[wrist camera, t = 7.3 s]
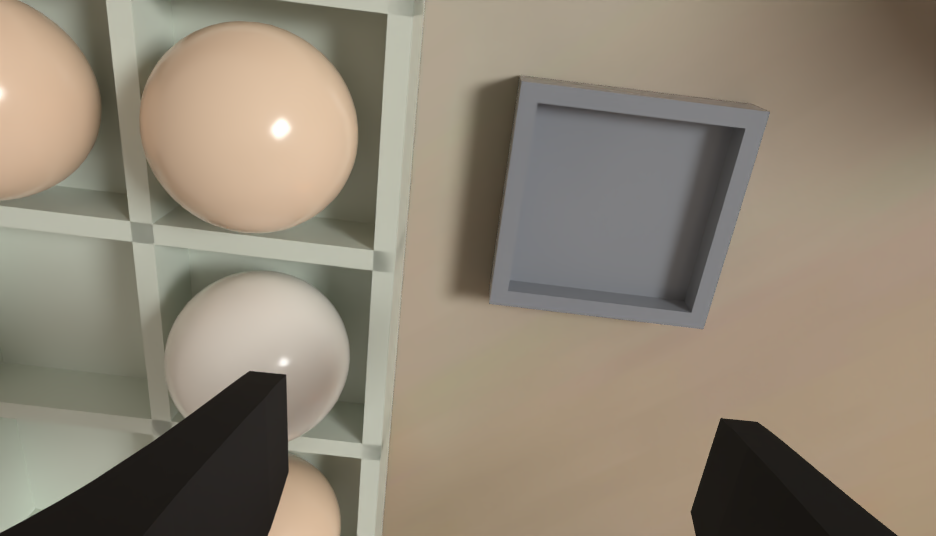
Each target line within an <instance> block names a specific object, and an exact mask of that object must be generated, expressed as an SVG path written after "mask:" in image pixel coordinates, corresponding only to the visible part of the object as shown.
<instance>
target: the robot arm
mask: <svg viewBox="0 0 936 536" xmlns="http://www.w3.org/2000/svg"><path fill="white" fill-rule="evenodd" d="M288 473H289V462H288V422H287V382H286V374H276V373H266V372H256V371H249V372H247V373H246V374H244V375H243V376H241V377H240V378H239V379H237V380H236V381H235V382H233V383H232V384H231V385H229V386H228V387H227V388H225V389H224V390H223V391H221V392H220V393H219V394H217V395H216V396H214V397H213V398H212V399H210V400H209V401H208V402H206V403H205V404H204V405H202V406H201V407H200V408H198V409H197V410H196V411H194V412H193V413H192V414H190V415H189V416H187V417H186V418H185V419H183V420H182V421H181V422H179V423H178V424H176V425H175V426H174V427H172V428H171V429H169V430H168V431H167V432H165V433H164V434H162V435H161V436H160V437H158V438H157V439H155V440H154V441H153V442H151V443H150V444H148V445H147V446H145V447H143V448H142V449H140V450H139V451H137V452H136V453H134V454H133V455H131V456H130V457H128V458H127V459H125V460H124V461H122V462H121V463H119V464H117V465H116V466H114V467H113V468H111V469H110V470H108V471H107V472H105V473H104V474H102V475H101V476H99V477H98V478H96V479H95V480H93V481H91V482H90V483H88V484H86V485H85V486H83V487H81V488H80V489H78V490H77V491H75V492H73V493H71V494H70V495H68V496H66V497H65V498H63V499H61V500H59V501H58V502H56V503H54V504H52V505H51V506H49V507H47V508H45V509H43V510H42V511H40V512H38V513H36V514H34V515H32V516H31V517H29V518H27V519H25V520H23V521H22V522H20V523H18V524H16V525H14V526H12V527H10V528H9V529H7V530H5V531H3V532H1V533H0V536H268V534H269V532H270V529H271V526H272V523H273V520H274V517H275V514H276V511H277V508H278V505H279V502H280V499H281V495H282V492H283V489H284V486H285V482H286V479H287V476H288ZM691 515H692V520H693V524H694V529H695V534H696V536H897V535H896V534H895V533H894V532H892V531H891V530H890V529H888V528H887V527H886V526H885V525H883V524H882V523H881V522H880V521H878V520H877V519H876V518H875V517H873V516H872V515H871V514H870V513H868V512H867V511H866V510H865V509H864V508H862V507H861V506H860V505H859V504H857V503H856V502H855V501H854V500H853V499H851V498H850V497H849V496H848V495H846V494H845V493H844V492H843V491H842V490H840V489H839V488H838V487H837V486H836V485H834V484H833V483H832V482H831V481H830V480H828V479H827V478H826V477H825V476H824V475H823V474H821V473H820V472H819V471H818V470H817V469H815V468H814V467H813V466H812V465H811V464H809V463H808V462H807V461H806V460H805V459H803V458H802V457H801V456H800V455H799V454H797V453H796V452H795V451H794V450H793V449H791V448H790V447H789V446H788V445H787V444H785V443H784V442H783V441H782V440H780V439H779V438H778V437H777V436H775V435H774V434H773V433H772V432H770V431H769V430H768V429H766V428H765V427H764V426H762V425H761V424H759V423H758V422H753V421H743V420H733V419H723V418H721V419H720V422H719V425H718V428H717V431H716V434H715V437H714V441H713V444H712V447H711V450H710V453H709V456H708V459H707V463H706V466H705V469H704V472H703V475H702V478H701V481H700V484H699V488H698V491H697V494H696V497H695V500H694V503H693V506H692V510H691Z"/></svg>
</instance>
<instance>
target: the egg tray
mask: <svg viewBox="0 0 936 536" xmlns="http://www.w3.org/2000/svg"><path fill="white" fill-rule="evenodd" d="M19 1H21V2H23V3H25V4H27V5H29V6H31V7H33V8H34V9H36V10H38V11H39V12H41V13H43V14H44V15H45V16H47V17H48V18H49V19H51V20H52V21H53V22H55V23H56V24H57V25H58V26H59V27H60V28H61V29H63V30H64V31H65V32H66V33H67V34H68V35H69V36H70V37H71V38H72V40H73V41H74V42H75V43H76V44H77V45H78V47H79V48H80V50H81V51H82V52H83V54H84V55H85V57H86V59H87V60H88V62H89V64H90V66H91V68H92V70H93V72H94V75H95V77H96V80H97V83H98V87H99V90H100V96H101V105H102V115H101V124H100V129H99V133H98V137H97V139H96V142H95V144H94V146H93V148H92V150H91V151H90V153H89V155H88V156H87V158H86V160H85V161H84V162H83V163H82V164H81V165H80V167H79V168H78V169H77V170H76V171H75V172H74V173H72V174H71V175H70V176H69V177H67V178H66V179H65V180H63V181H62V182H60V183H58V184H56V185H55V186H53V187H51V188H50V189H48V190H45V191H42V192H40V193H37V194H34V195H31V196H28V197H23V198H19V199H12V200H4V201H0V533H1V532H3V531H5V530H7V529H9V528H10V527H12V526H14V525H16V524H18V523H20V522H22V521H23V520H25V519H27V518H29V517H31V516H32V515H34V514H36V513H38V512H40V511H42V510H43V509H45V508H47V507H49V506H51V505H52V504H54V503H56V502H58V501H59V500H61V499H63V498H65V497H66V496H68V495H70V494H71V493H73V492H75V491H77V490H78V489H80V488H81V487H83V486H85V485H86V484H88V483H90V482H91V481H93V480H95V479H96V478H98V477H99V476H101V475H102V474H104V473H105V472H107V471H108V470H110V469H111V468H113V467H114V466H116V465H117V464H119V463H121V462H122V461H124V460H125V459H127V458H128V457H130V456H131V455H133V454H134V453H136V452H137V451H139V450H140V449H142V448H143V447H145V446H147V445H148V444H150V443H151V442H153V441H154V440H155V439H157V438H158V437H160V436H161V435H162V434H164V433H165V432H167V431H168V430H169V429H171V428H172V427H174V426H175V425H176V424H178V423H179V422H181V421H182V420H183V419H185V418H184V417H183V416H182V414H181V413H180V412H179V410H178V409H177V407H176V406H175V404H174V402H173V400H172V398H171V396H170V393H169V390H168V387H167V384H166V379H165V373H164V354H165V348H166V343H167V339H168V336H169V333H170V330H171V328H172V326H173V324H174V322H175V320H176V318H177V316H178V315H179V314H180V312H181V311H182V310H183V308H184V307H185V306H186V304H187V303H188V302H189V301H190V300H191V299H192V298H193V297H194V296H195V295H196V294H197V293H199V292H200V291H201V290H203V289H204V288H205V287H207V286H208V285H210V284H212V283H214V282H216V281H218V280H220V279H222V278H224V277H226V276H229V275H232V274H236V273H241V272H246V271H254V270H267V271H276V272H281V273H286V274H289V275H292V276H295V277H297V278H300V279H302V280H304V281H306V282H307V283H309V284H311V285H312V286H314V287H315V288H316V289H318V290H319V291H320V292H321V293H322V294H323V295H325V296H326V297H327V299H328V300H329V301H330V302H331V303H332V305H333V306H334V307H335V309H336V310H337V312H338V313H339V315H340V317H341V319H342V321H343V323H344V326H345V329H346V332H347V336H348V341H349V351H350V362H349V370H348V375H347V379H346V382H345V385H344V388H343V390H342V392H341V394H340V396H339V398H338V400H337V402H336V403H335V405H334V406H333V408H332V409H331V410H330V412H329V413H328V414H327V415H326V416H325V417H324V418H323V420H322V421H320V422H319V423H318V424H317V425H316V426H315V427H313V428H312V429H311V430H309V431H308V432H306V433H305V434H303V435H301V436H299V437H298V438H296V439H294V440H291V441H289V442H288V453H289V454H293V455H295V456H298V457H300V458H302V459H304V460H306V461H307V462H309V463H311V464H312V465H313V466H315V467H316V468H317V469H318V470H319V471H320V472H321V473H322V474H323V475H324V476H325V478H326V479H327V480H328V482H329V483H330V485H331V487H332V488H333V490H334V493H335V495H336V498H337V501H338V504H339V509H340V516H341V532H340V536H382V528H383V515H384V503H385V491H386V478H387V466H388V454H389V441H390V429H391V417H392V404H393V392H394V380H395V367H396V355H397V343H398V330H399V318H400V306H401V293H402V281H403V269H404V256H405V244H406V232H407V219H408V207H409V195H410V182H411V170H412V158H413V145H414V133H415V121H416V108H417V96H418V84H419V71H420V59H421V47H422V34H423V22H424V10H425V0H19ZM231 21H248V22H260V23H265V24H270V25H273V26H276V27H279V28H282V29H285V30H287V31H289V32H291V33H293V34H295V35H297V36H299V37H301V38H302V39H304V40H305V41H307V42H308V43H310V44H312V45H313V46H314V47H315V48H316V49H318V50H319V51H320V52H321V53H322V54H323V55H324V56H325V57H326V58H327V59H328V60H329V61H330V62H331V63H332V64H333V66H334V67H335V68H336V70H337V71H338V72H339V74H340V75H341V77H342V79H343V80H344V82H345V84H346V86H347V88H348V90H349V92H350V95H351V97H352V100H353V103H354V107H355V110H356V115H357V122H358V147H357V154H356V158H355V162H354V166H353V168H352V170H351V173H350V175H349V178H348V180H347V181H346V183H345V185H344V187H343V188H342V190H341V191H340V193H339V194H338V195H337V196H336V198H335V199H334V200H333V201H332V202H331V203H330V204H329V205H328V206H327V207H326V208H325V209H323V210H322V211H321V212H320V213H318V214H317V215H316V216H314V217H313V218H311V219H309V220H307V221H305V222H303V223H301V224H299V225H297V226H294V227H291V228H288V229H286V230H281V231H276V232H269V233H242V232H237V231H231V230H228V229H224V228H221V227H218V226H215V225H212V224H210V223H208V222H205V221H203V220H201V219H200V218H198V217H196V216H194V215H193V214H191V213H190V212H188V211H187V210H186V209H184V208H183V207H182V206H181V205H179V204H178V203H177V202H176V201H175V200H174V199H173V198H172V197H171V196H170V195H169V194H168V193H167V192H166V190H165V189H164V188H163V187H162V185H161V184H160V182H159V181H158V180H157V178H156V177H155V175H154V173H153V171H152V169H151V168H150V165H149V163H148V161H147V158H146V156H145V153H144V149H143V146H142V142H141V136H140V127H139V113H140V104H141V98H142V94H143V90H144V87H145V85H146V83H147V80H148V78H149V76H150V74H151V72H152V70H153V69H154V67H155V66H156V64H157V62H158V61H159V60H160V58H161V57H162V56H163V55H164V54H165V53H166V51H168V50H169V49H170V48H171V47H172V46H173V45H175V44H176V43H177V42H178V41H179V40H181V39H182V38H184V37H186V36H187V35H189V34H190V33H192V32H194V31H197V30H199V29H202V28H204V27H207V26H210V25H214V24H218V23H222V22H231Z"/></svg>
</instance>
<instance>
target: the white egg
mask: <svg viewBox="0 0 936 536" xmlns="http://www.w3.org/2000/svg"><path fill="white" fill-rule="evenodd" d="M349 362H350V351H349V341H348V336H347V332H346V329H345V326H344V323H343V321H342V319H341V317H340V315H339V313H338V312H337V310H336V309H335V307H334V306H333V305H332V303H331V302H330V301H329V300H328V299H327V297H326V296H325V295H323V294H322V293H321V292H320V291H319V290H318V289H316V288H315V287H314V286H312V285H311V284H309V283H307V282H306V281H304V280H302V279H300V278H297V277H295V276H292V275H289V274H286V273H281V272H276V271H267V270H254V271H246V272H241V273H236V274H232V275H229V276H226V277H224V278H222V279H220V280H218V281H216V282H214V283H212V284H210V285H208V286H207V287H205V288H204V289H203V290H201V291H200V292H199V293H197V294H196V295H195V296H194V297H193V298H192V299H191V300H190V301H189V302H188V303H187V304H186V306H185V307H184V308H183V310H182V311H181V312H180V314H179V315H178V316H177V318H176V320H175V322H174V324H173V326H172V328H171V330H170V333H169V336H168V339H167V343H166V348H165V354H164V373H165V379H166V384H167V387H168V390H169V393H170V396H171V398H172V400H173V402H174V404H175V406H176V407H177V409H178V410H179V412H180V413H181V414H182V416H183V417H184V418H186V417H187V416H189V415H190V414H192V413H193V412H194V411H196V410H197V409H198V408H200V407H201V406H202V405H204V404H205V403H206V402H208V401H209V400H210V399H212V398H213V397H214V396H216V395H217V394H219V393H220V392H221V391H223V390H224V389H225V388H227V387H228V386H229V385H231V384H232V383H233V382H235V381H236V380H237V379H239V378H240V377H241V376H243V375H244V374H246V373H247V372H249V371H256V372H266V373H276V374H286V382H287V422H288V442H289V441H291V440H294V439H296V438H298V437H299V436H301V435H303V434H305V433H306V432H308V431H309V430H311V429H312V428H313V427H315V426H316V425H317V424H318V423H319V422H320V421H322V420H323V418H324V417H325V416H326V415H327V414H328V413H329V412H330V410H331V409H332V408H333V406H334V405H335V403H336V402H337V400H338V398H339V396H340V394H341V392H342V390H343V388H344V385H345V382H346V379H347V375H348V370H349Z"/></svg>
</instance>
